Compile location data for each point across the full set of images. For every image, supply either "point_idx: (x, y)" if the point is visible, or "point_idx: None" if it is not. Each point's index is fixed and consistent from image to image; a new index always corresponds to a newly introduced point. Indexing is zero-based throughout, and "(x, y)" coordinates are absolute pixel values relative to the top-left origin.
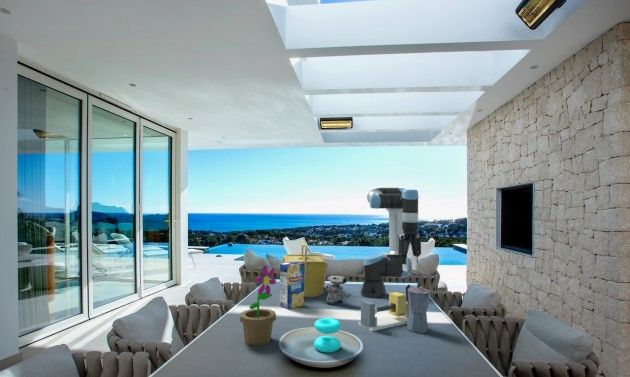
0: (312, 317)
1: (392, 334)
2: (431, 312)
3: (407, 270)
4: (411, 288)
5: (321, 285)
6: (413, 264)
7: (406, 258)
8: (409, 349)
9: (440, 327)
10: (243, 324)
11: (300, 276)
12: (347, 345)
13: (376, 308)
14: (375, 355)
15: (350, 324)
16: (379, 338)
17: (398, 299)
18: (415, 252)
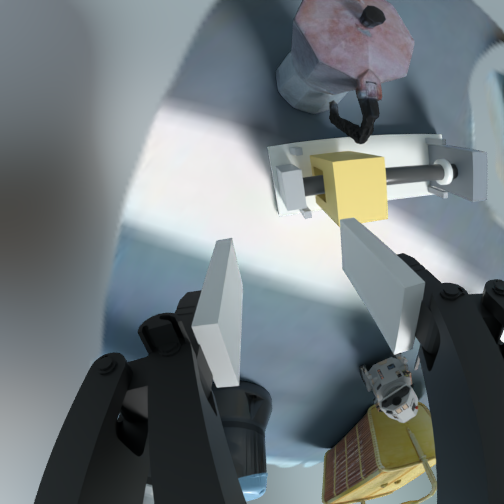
0: (476, 279)
1: (401, 87)
2: (147, 218)
3: (347, 221)
4: (395, 55)
5: (375, 423)
6: (236, 294)
7: (417, 281)
8: (404, 8)
9: (218, 73)
10: None
11: None
12: (496, 101)
13: (445, 163)
14: (470, 36)
15: (451, 204)
16: (439, 87)
17: (372, 156)
18: (203, 395)
